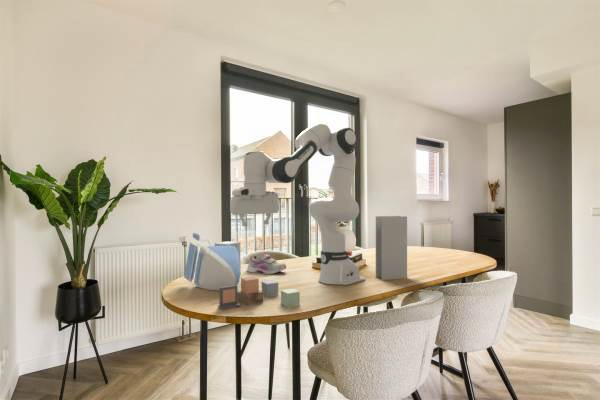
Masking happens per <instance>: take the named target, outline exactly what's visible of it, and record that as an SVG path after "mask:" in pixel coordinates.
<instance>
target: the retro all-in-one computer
mask: <svg viewBox="0 0 600 400" xmlns="http://www.w3.org/2000/svg"><path fill="white" fill-rule="evenodd" d="M192 238H193V239H194V240H196V241H200V240H201V239H200V238H201V237H200V234H199V233H197V232H193V233H192ZM205 241H207V242H208V244H209V245H207V246H205V245H203V246H201V245H199V244H197V245H195V244H194V243H192V242H189V245H188V250H187V251H188V252H187V258H186V263H185V272H184V276H183V277H184V278H185V280H187V281H188V282H191V283H193V284H194V285H195V286H196V287H198V288H200V289H203V290H204V289H205V290H209V291H210V290H211V291H219V288H220V287H227V286H234V285H237V286H238V284H239V283H240V280H241V275H240V272H241V273H242V271H241V270H240V266H241V260H240V261H239V253H238V251H237V249H236V247H235V246H215V245H211V243H210V241H209V240H208V239H205V240H203V242H205ZM199 247H200V249H199ZM192 281H193V282H192Z"/></svg>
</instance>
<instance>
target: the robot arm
mask: <svg viewBox="0 0 600 400" xmlns="http://www.w3.org/2000/svg"><path fill="white" fill-rule="evenodd" d="M294 145H295V149H296V151H294V152H293V154H292V155H291V156H287V157H282V158H276V159H274V158H272V157H269V156H268V155H267V154H266V153H265V152H264V151H263V150H253V151H249V152H247V153H245V155H244V157H243V175H244V181H243V187H240V188H237V189H234V190H232V191H231V193H232V194H231V195H232V197H231V199H230V209H229V210H230V214H231V215H234V216H239V219H240V221H241V224H242V227H248V221H246V220H245V216H246V215H261V214H263V215H264V214H265V216H266V218H265V219H263V225H269V224H270V223H269V222H270V219H271V217H272V214H278V212H279V211H280V206H279V194H278V193H277V191H275V190H267V183H268V184H277V183H278V184H280V183H283V184H290V183H292V182H293V181H295V179H296V178H297V177H298V174H299V173H300V171H301V169H302V168H303V167H304V166H305V165H306V164H307V163H308V162H309V160H311V159H312V158H313V157H314V155H315V154H316V153H317V152H318V153H319V154H320V155H321V156H323V157H331V156H333V157H334V158H333V164H332V167H331V171H330V173H329V174H330V175H329V179H328V187H329V189H330V190H331V191H333V197H321V198H317V199H313V200H312V202H311V203H310V204H309V213H310V216H311V217H312V219H314V220H315V222H316V223H317V226H318V227H319V231H320V235H321V236H320V237H321V251H320V263H321V264H320V272H319V276H318V279H317V281H318V282H319V283H322V284H325V285H326V284H327V285H339V286H340V285H342V286H348V285H352V284H355V283H356V284H357V283H359V282H362V281H365V278H366V277H364V276H363V275H361V274H360V269H359V268H360V267H359V266H358V265H357V264H356V263H354V262H353V260H351V259H349V257H352V256H353V252H352V251H347V250H346V234H345V233H344V231H343V230H341V229H340V228H339V226H338V223H337V222H340V223H342V222H343V223H345V222H351V221H355V220H356V219H357V218H358V216H359V214H360V206H359V204H358V202H357V201H356V200H355V199H354V197H353V194H352V184H353V181H354V176H355V171H356V164H357V163H356V161H357V158H356V155H355V153H353V152H355V151H356V145H357V135H356V132H355V131H354V130H353V129H352V128H351V127H340V128H339V129H335V130H333V131H331V128H329V126H328V124H326V123H323V122H318V123H315V124H313V125H311V126H309V127H307V128H306V129H305V130H303V131H302V132H301V133H300V134H299V135H297V137H296V138H295V140H294Z"/></svg>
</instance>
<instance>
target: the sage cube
mask: <svg viewBox="0 0 600 400" xmlns="http://www.w3.org/2000/svg"><path fill="white" fill-rule="evenodd" d="M300 293H301V292H300V291H299V290H297V289H295V288H287V289H282V290H280V304H281V305H282V306H284V307H286V308H292V307H296V306H300V304H301V303H300V301H301V300H300Z"/></svg>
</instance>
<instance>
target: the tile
mask: <svg viewBox="0 0 600 400" xmlns="http://www.w3.org/2000/svg"><path fill="white" fill-rule="evenodd" d="M218 291H219V294H218V295H219V296H218V297H219V299H218V300H219V303H218V305H217V308H218V309H219V310H220V311H223V310H228V309H229V310H230V309H234V308H239V307H240V306H241V303H240V302H237V292H238V285H234V286H227V287H220V288H219V290H218Z"/></svg>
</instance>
